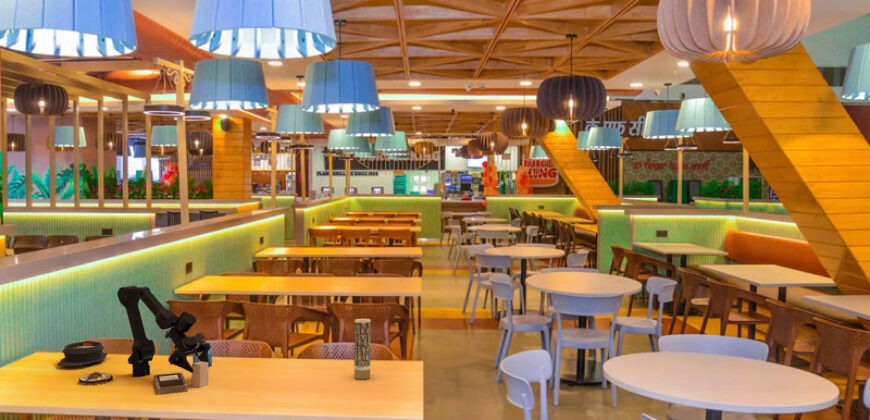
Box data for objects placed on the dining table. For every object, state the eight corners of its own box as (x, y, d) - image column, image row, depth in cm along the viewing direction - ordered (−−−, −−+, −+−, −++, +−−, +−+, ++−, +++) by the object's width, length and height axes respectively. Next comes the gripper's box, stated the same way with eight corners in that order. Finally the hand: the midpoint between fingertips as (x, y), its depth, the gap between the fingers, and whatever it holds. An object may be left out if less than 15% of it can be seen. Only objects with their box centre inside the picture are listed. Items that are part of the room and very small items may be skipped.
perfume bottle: (211, 366, 320) (212, 339, 320) (206, 369, 314) (206, 342, 313) (198, 365, 321) (198, 339, 320) (192, 369, 314) (192, 342, 314)
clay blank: (191, 388, 285) (191, 363, 285) (199, 385, 289) (199, 361, 289) (200, 389, 283) (200, 365, 283) (208, 386, 287) (208, 362, 287)
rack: (187, 393, 278) (187, 385, 278) (157, 396, 273) (157, 388, 273) (181, 379, 297) (181, 372, 297) (153, 382, 292) (153, 375, 292)
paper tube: (367, 380, 299) (368, 321, 298) (352, 379, 301) (352, 321, 300) (372, 376, 306) (372, 319, 305) (357, 375, 307) (357, 318, 306)
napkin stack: (160, 385, 285) (160, 381, 285) (159, 381, 291) (159, 376, 291) (179, 384, 288) (179, 379, 288) (177, 379, 294) (177, 374, 294)
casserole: (80, 355, 336) (80, 338, 335) (117, 357, 334) (117, 339, 333) (46, 369, 311) (46, 350, 310) (86, 371, 309) (86, 352, 309)
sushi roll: (96, 389, 284) (96, 378, 284) (67, 385, 289) (67, 375, 288) (123, 379, 298) (123, 369, 298) (95, 376, 303) (95, 366, 302)
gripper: (173, 331, 279) (194, 362, 275) (207, 323, 296) (228, 352, 291) (158, 349, 283) (179, 379, 278) (193, 339, 299) (213, 368, 295)
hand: (201, 369), depth 286 cm, fingers open, 9 cm apart
